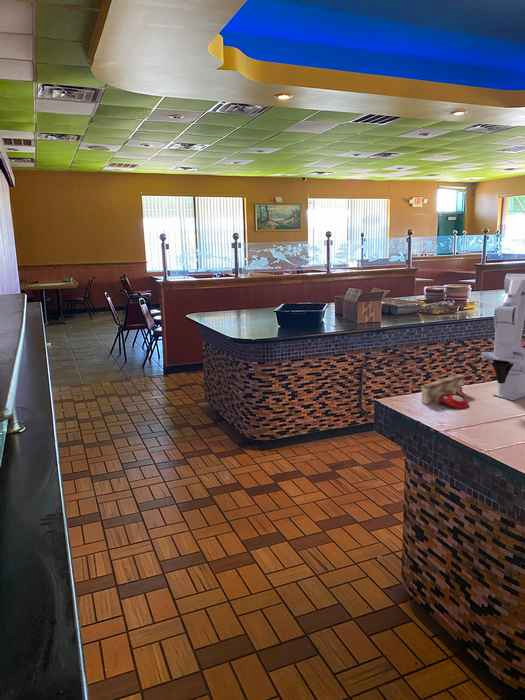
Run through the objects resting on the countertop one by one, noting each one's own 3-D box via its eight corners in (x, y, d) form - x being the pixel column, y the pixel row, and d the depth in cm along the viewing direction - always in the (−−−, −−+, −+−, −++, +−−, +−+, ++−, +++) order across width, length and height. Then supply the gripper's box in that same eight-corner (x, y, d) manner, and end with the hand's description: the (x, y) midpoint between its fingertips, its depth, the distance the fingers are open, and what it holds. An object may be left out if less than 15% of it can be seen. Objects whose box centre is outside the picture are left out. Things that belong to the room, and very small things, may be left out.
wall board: (457, 391, 198) (458, 373, 196) (464, 393, 196) (464, 375, 194) (421, 402, 187) (422, 384, 186) (428, 404, 185) (428, 386, 183)
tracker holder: (472, 407, 178) (442, 400, 179) (467, 417, 181) (438, 410, 182) (467, 388, 189) (439, 382, 190) (463, 398, 191) (435, 392, 192)
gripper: (476, 341, 176) (474, 380, 179) (518, 348, 164) (515, 390, 167) (489, 337, 180) (487, 376, 183) (530, 344, 168) (527, 385, 171)
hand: (501, 382), depth 176 cm, fingers closed
